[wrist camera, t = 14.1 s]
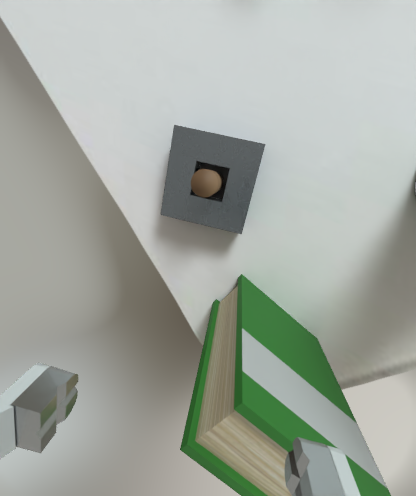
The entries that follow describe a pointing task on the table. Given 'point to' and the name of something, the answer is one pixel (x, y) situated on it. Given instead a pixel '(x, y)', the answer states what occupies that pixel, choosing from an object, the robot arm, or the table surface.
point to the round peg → (206, 182)
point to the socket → (219, 154)
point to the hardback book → (267, 399)
